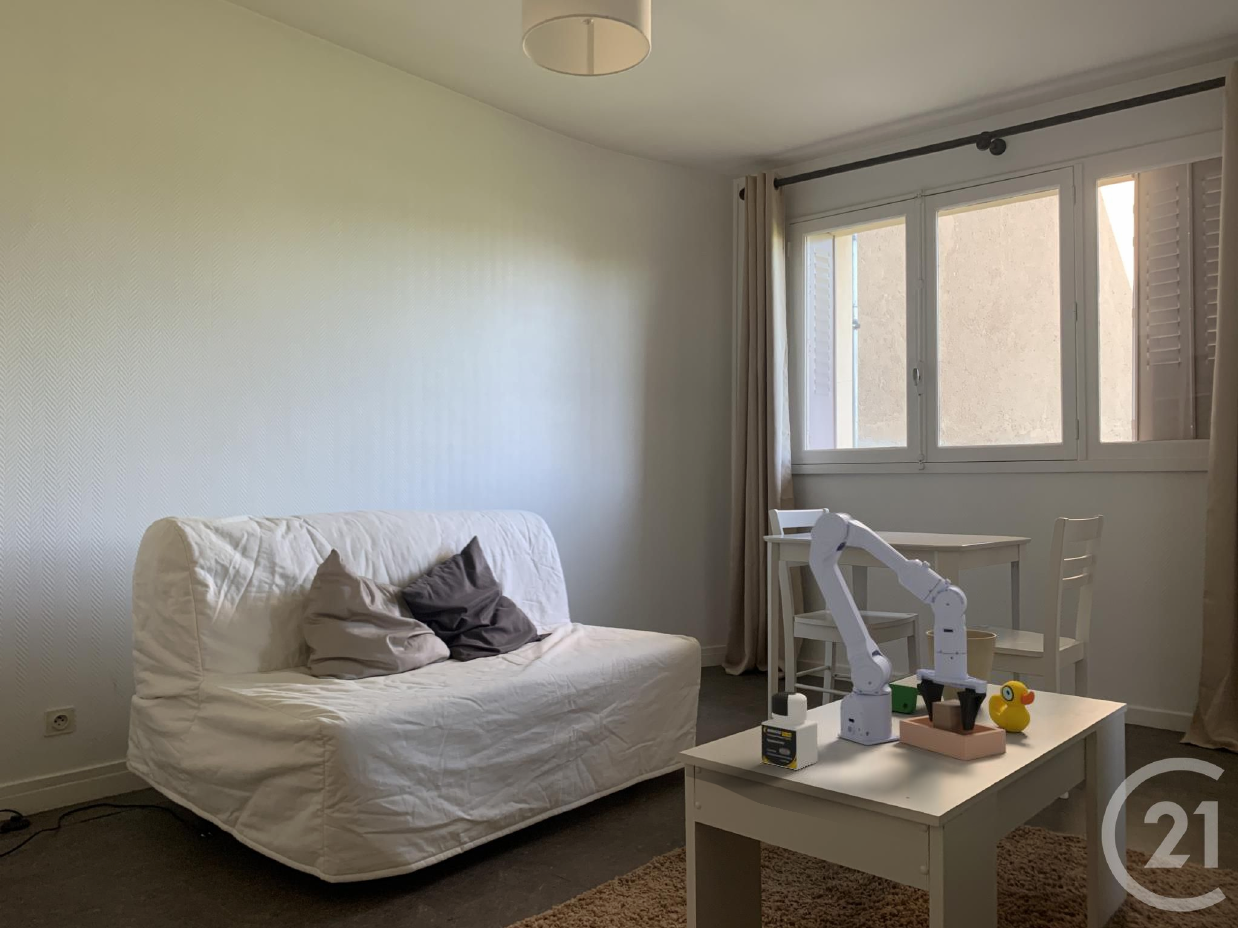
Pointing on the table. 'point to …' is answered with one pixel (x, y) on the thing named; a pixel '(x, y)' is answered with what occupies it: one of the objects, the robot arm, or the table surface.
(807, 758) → the medicine bottle
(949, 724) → the tan wooden block
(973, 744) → the pink rectangular tray
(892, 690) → the clamp
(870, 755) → the table surface
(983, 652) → the plant pot
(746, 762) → the table surface
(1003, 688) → the duckling
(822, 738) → the table surface
